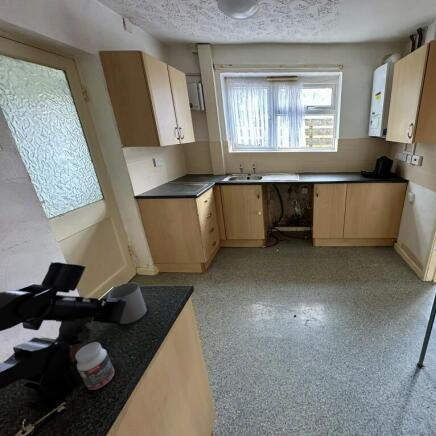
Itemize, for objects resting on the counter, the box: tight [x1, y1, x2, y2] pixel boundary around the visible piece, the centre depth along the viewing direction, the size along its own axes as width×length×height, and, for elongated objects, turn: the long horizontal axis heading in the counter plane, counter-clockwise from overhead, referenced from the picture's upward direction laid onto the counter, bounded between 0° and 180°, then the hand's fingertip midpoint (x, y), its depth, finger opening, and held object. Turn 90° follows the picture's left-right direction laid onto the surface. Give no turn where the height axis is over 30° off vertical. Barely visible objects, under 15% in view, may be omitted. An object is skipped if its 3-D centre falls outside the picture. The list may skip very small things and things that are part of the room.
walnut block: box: [70, 344, 84, 364], centre depth 65 cm, size 4×4×4 cm
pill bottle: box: [75, 341, 115, 391], centre depth 58 cm, size 6×6×10 cm
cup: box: [107, 281, 148, 325], centre depth 79 cm, size 8×8×10 cm
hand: (113, 310), depth 72 cm, fingers closed
